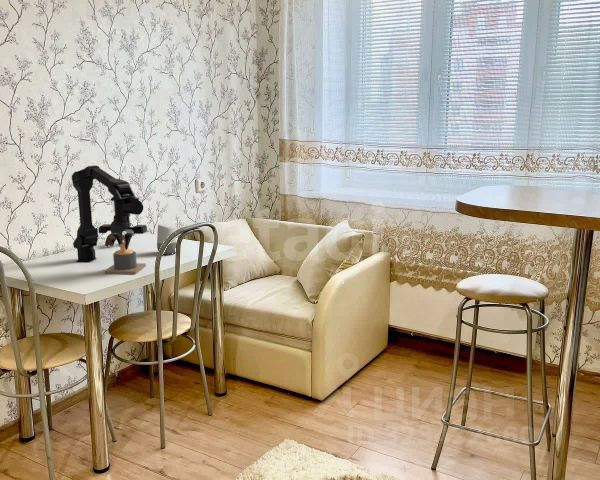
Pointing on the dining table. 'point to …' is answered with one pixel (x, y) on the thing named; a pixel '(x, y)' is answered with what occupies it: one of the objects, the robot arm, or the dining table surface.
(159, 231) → the smart speaker
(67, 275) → the dining table surface
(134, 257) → the tube on square plate
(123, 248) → the orange cap
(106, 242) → the brown curved piece
